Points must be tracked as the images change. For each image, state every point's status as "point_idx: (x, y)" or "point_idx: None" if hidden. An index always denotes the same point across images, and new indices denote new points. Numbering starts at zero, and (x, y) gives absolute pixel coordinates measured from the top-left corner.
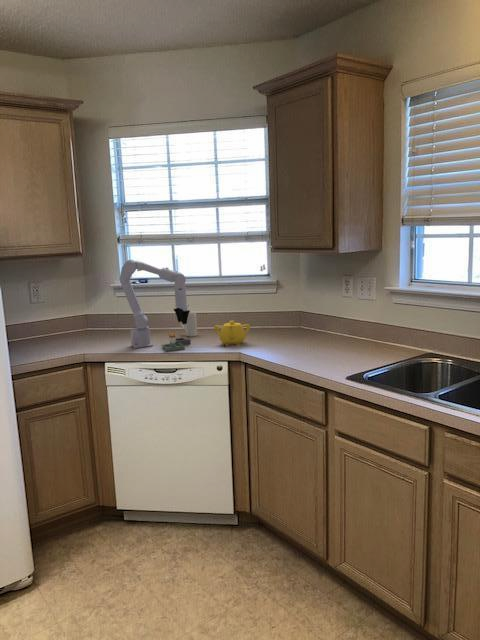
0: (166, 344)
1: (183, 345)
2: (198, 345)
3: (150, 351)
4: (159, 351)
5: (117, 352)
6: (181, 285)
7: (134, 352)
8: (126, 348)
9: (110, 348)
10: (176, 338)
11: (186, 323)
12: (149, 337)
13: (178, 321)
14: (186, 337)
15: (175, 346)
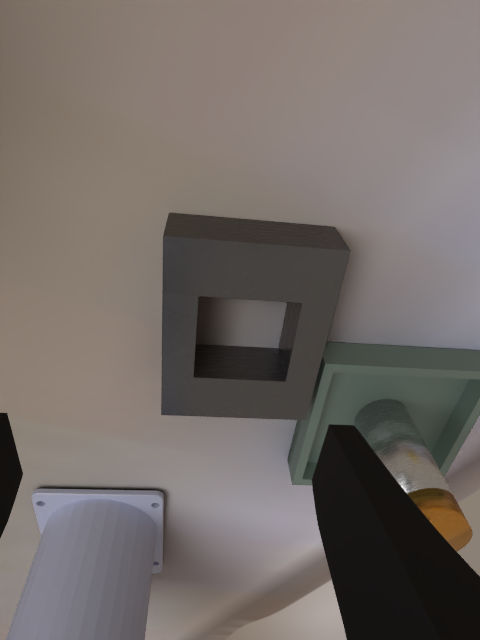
0: (307, 460)
1: (476, 373)
2: (458, 173)
3: (316, 522)
4: None
5: (203, 619)
6: None
7: (269, 575)
8: None
9: None
10: (170, 357)
11: (361, 434)
12: (121, 564)
13: (18, 487)
14: (190, 246)
15: (410, 417)
